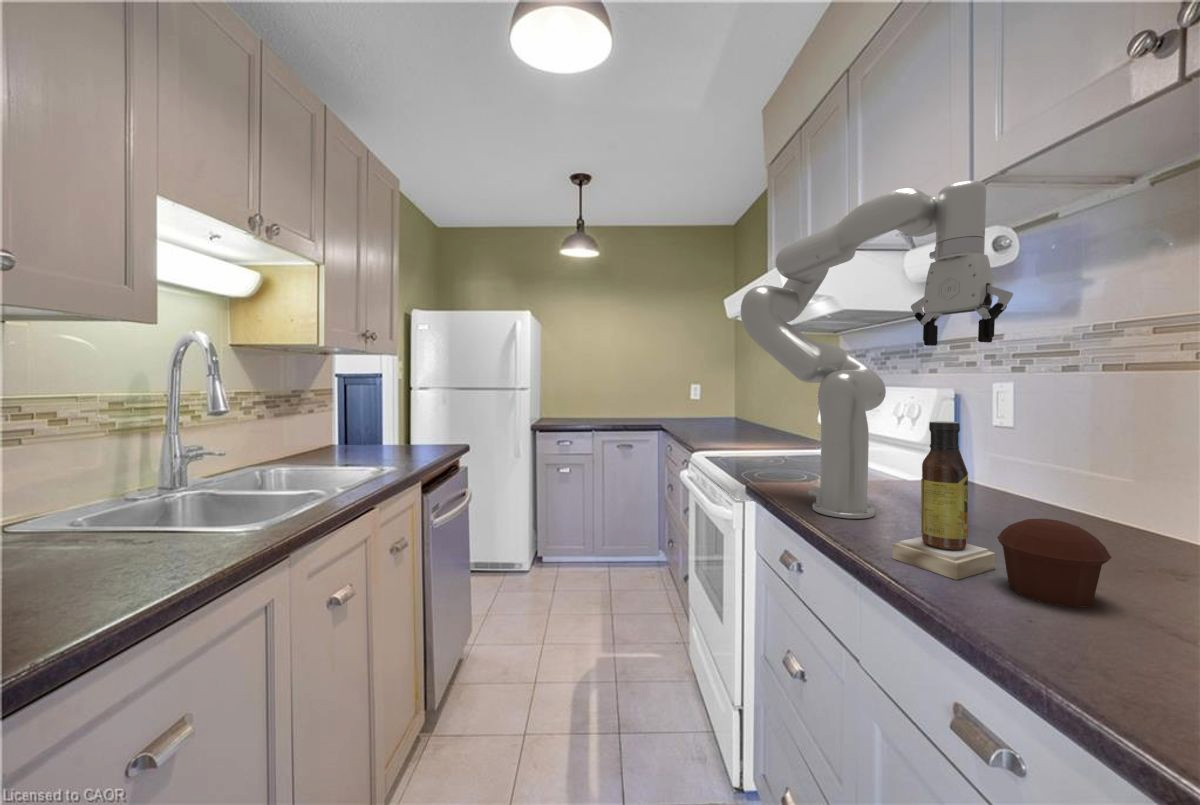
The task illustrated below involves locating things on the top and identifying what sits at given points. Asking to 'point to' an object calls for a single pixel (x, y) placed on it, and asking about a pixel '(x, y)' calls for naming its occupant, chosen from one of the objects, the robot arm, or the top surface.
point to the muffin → (1053, 561)
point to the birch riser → (945, 558)
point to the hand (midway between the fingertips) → (956, 343)
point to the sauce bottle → (944, 490)
